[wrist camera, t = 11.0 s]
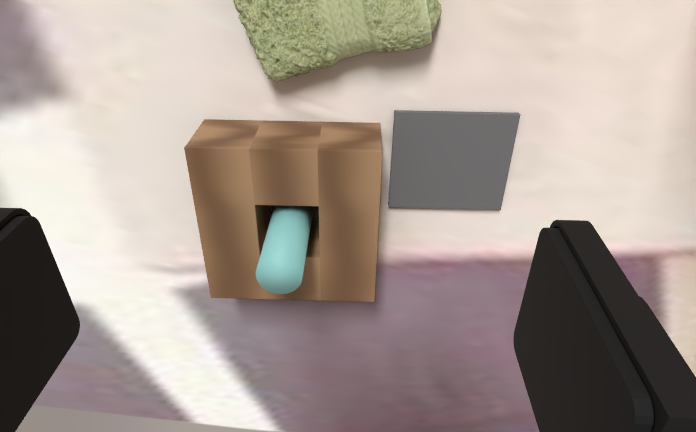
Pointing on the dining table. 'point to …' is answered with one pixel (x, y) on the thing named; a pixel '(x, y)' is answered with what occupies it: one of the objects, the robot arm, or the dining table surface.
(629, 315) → the robot arm
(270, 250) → the peg
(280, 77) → the washcloth
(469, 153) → the mat
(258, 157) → the hole block
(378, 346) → the dining table surface
